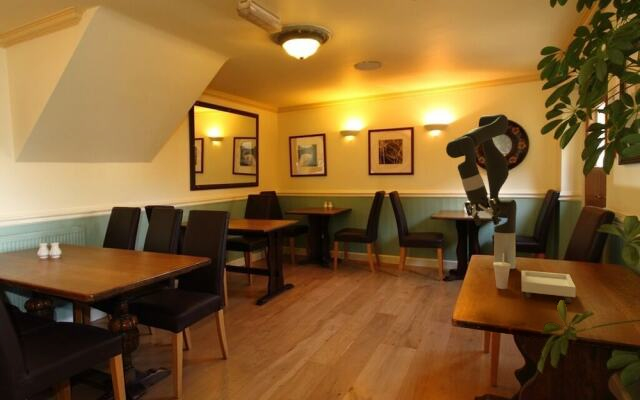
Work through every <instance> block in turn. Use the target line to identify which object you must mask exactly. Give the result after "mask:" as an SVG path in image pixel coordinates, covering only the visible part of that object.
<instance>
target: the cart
mask: <svg viewBox="0 0 640 400" xmlns="http://www.w3.org/2000/svg"><path fill="white" fill-rule="evenodd" d="M520 272H521V278H520V279H521V292H525V299H531V294H533V293H534V294H542V295H552V296H559V297H564V303H565V302H566V303H567V304H570V303H571V298H576V290H577V289H576V285H575V284H574V282H573V279H572V277H571V275H570V274H569V273H567V274H566V273H557V272H544V271H533V270H521V271H520Z"/></svg>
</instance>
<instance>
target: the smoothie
mask: <svg viewBox="0 0 640 400" xmlns="http://www.w3.org/2000/svg"><path fill="white" fill-rule="evenodd" d="M492 266H493V270H494V271H493V272H494V277H495V286H496V289H500V290H505V289H508V284H509V283H508V281H509V276H510V275H509V274H510V270H511V269H510V267H511V264H509V263H505V262H504V253H503V262H494V261H493V263H492Z"/></svg>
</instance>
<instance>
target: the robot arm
mask: <svg viewBox="0 0 640 400" xmlns="http://www.w3.org/2000/svg"><path fill="white" fill-rule="evenodd" d="M508 129H509V120H508V117H507V115H505V114H504V113H503V114H501V113H500V114H499V113H496V114H487V115H486V114H485V115H482V116H480V118H479V119H478V127H476V128H473V129H471V130H469V131H468V132H466V133H465V134H463V135H462V136H459V137H457V138H454V139H452V140H450V141H449V142H447V144H446V146H445V152H446V154H447V156H448V157H449V158H452V159H457V158H461V157H464V161H463V162H460V163H458V165H457V171H458V174H459V176H460V178H461V183H462V187H463V189H464V193H465V195H466V198H467V201H465V202H464V208H465V210H466V213H467V214H466V215H467V216H468V217H472V218H473V221H474V223H475V225H476V226H477V227H478V226H481V225H482V220H481V218H480V216H479V212H485V213H486V214H489V216H491V217H490V218H491V220H492V223H493V225H494V228H493V236H494V237H493V242H494V243H493V251H494V252H493V263H494V262H503V253H504V262H505V263H509V264H511V267H510V269H509V270H514V269H516V230H517V229H516V228H517V227H516V226H517V225H516V223H517V210H518V209H517V208H518V207H517V202H516V200H515V199H512V198H499V193H500V190H501V189H502V187H503V185H504V184H505V183H506V182H507V179H508V177H509V173H510V172H509V171H510V170H509V164H508V160H507V158H506V156H505V155H504V154H503V152H502V151H501V150H499V148H498V147H497V145H496V144H495V141H494V138H496V137H499V136H502V135H504V134H505V133H507V131H508ZM481 145H482V148H483V154H484V161H485V164H484V165H485V171H486V176H487V184H488V189H489V197H488V190H487V188H486V185H485V183H484V179H483V176H482V175H481V172H480V169H479V168H478V164H477V156H476V148H478V147H479V146H481ZM500 219H506V221H505V222H504V223H501V224H500Z"/></svg>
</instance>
